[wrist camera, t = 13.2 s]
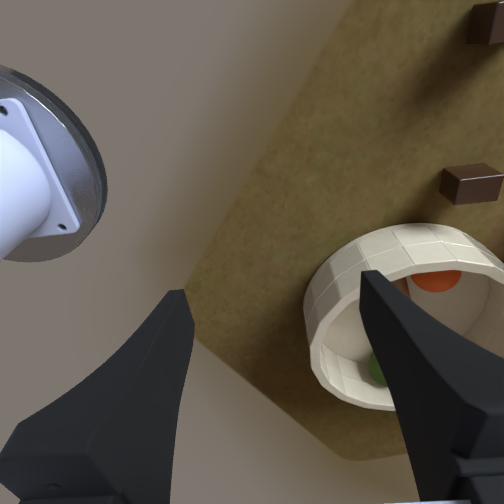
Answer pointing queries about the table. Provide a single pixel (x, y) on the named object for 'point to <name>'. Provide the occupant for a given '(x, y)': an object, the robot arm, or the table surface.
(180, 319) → the robot arm
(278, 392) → the table surface
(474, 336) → the cream shallow round container
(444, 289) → the orange ball
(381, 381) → the green ball
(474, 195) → the stick rest
